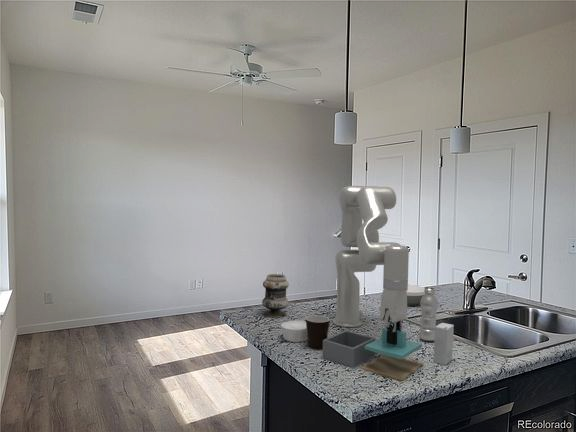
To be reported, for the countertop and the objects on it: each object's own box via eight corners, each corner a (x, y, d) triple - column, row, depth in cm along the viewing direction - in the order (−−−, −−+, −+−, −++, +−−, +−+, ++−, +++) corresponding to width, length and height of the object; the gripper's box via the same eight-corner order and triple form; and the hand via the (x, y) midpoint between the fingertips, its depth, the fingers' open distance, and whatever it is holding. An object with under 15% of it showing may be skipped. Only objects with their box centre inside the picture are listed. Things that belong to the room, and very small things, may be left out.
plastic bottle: (436, 338, 160) (438, 287, 159) (437, 344, 153) (438, 290, 153) (419, 336, 162) (420, 285, 161) (418, 342, 155) (420, 289, 155)
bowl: (432, 308, 204) (432, 292, 204) (393, 308, 204) (394, 291, 204) (420, 299, 223) (420, 284, 222) (385, 299, 223) (385, 283, 223)
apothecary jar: (279, 320, 180) (280, 279, 180) (256, 315, 186) (257, 276, 186) (293, 313, 191) (293, 274, 190) (271, 309, 197) (271, 272, 196)
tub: (345, 346, 149) (345, 330, 148) (375, 355, 141) (375, 338, 141) (322, 357, 138) (322, 340, 138) (353, 367, 130) (353, 349, 130)
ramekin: (276, 340, 154) (276, 326, 154) (287, 332, 165) (287, 319, 164) (304, 345, 150) (305, 330, 150) (314, 336, 160) (314, 322, 160)
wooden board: (386, 355, 142) (386, 353, 142) (423, 365, 133) (423, 363, 133) (362, 369, 129) (362, 367, 129) (400, 381, 121) (401, 379, 121)
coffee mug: (322, 352, 143) (322, 323, 143) (300, 347, 147) (301, 319, 147) (336, 342, 153) (337, 316, 152) (316, 338, 157) (316, 312, 157)
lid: (386, 340, 140) (386, 321, 140) (421, 349, 132) (422, 329, 132) (364, 351, 130) (365, 331, 129) (401, 362, 121) (402, 340, 121)
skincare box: (439, 357, 141) (440, 321, 140) (453, 360, 138) (454, 324, 137) (432, 362, 136) (433, 325, 136) (446, 366, 133) (447, 328, 133)
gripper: (395, 279, 139) (394, 334, 139) (372, 286, 127) (370, 346, 127) (417, 282, 134) (415, 339, 134) (394, 290, 122) (393, 352, 122)
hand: (393, 342), depth 131 cm, fingers closed on lid
